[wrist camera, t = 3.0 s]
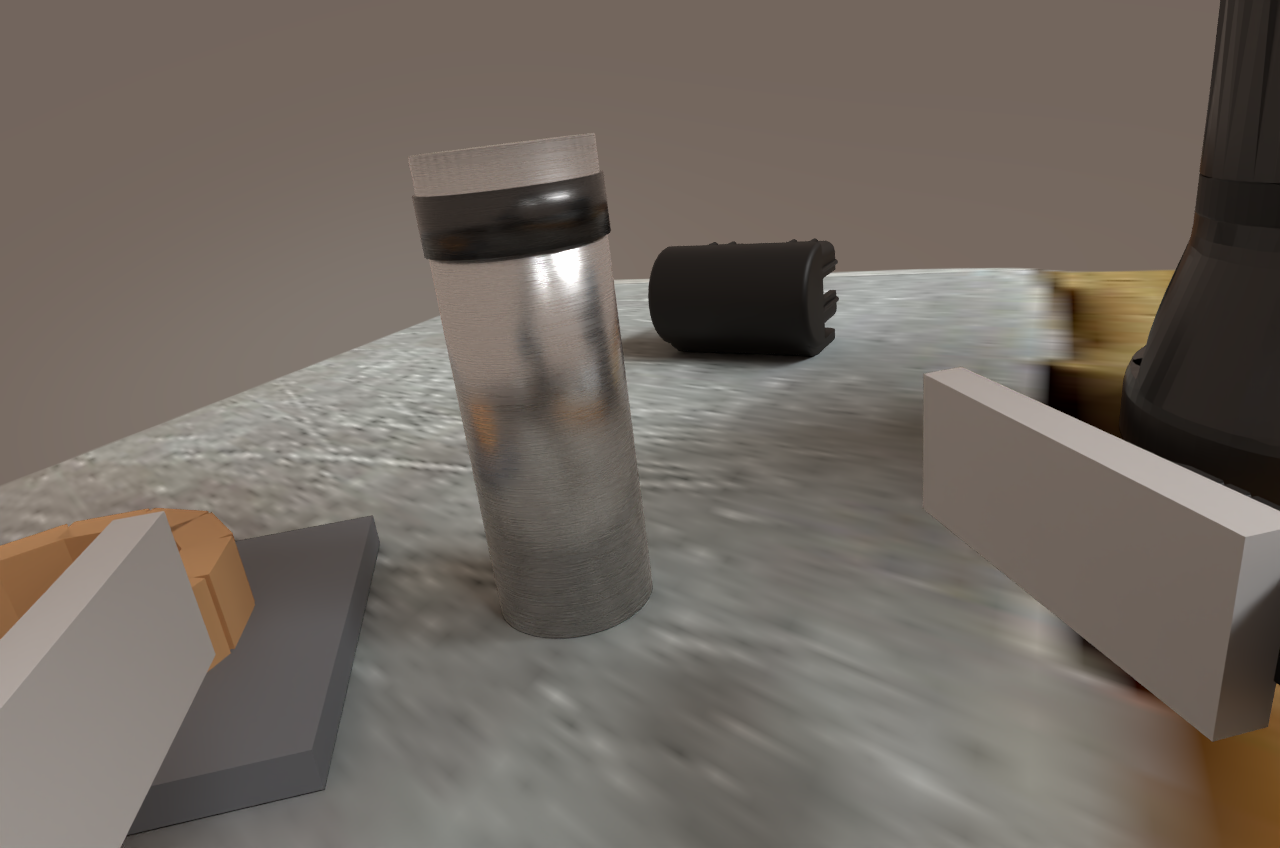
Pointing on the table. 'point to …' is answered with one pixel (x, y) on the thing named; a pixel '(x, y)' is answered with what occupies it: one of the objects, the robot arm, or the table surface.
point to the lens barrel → (539, 376)
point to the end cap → (744, 297)
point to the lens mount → (239, 652)
